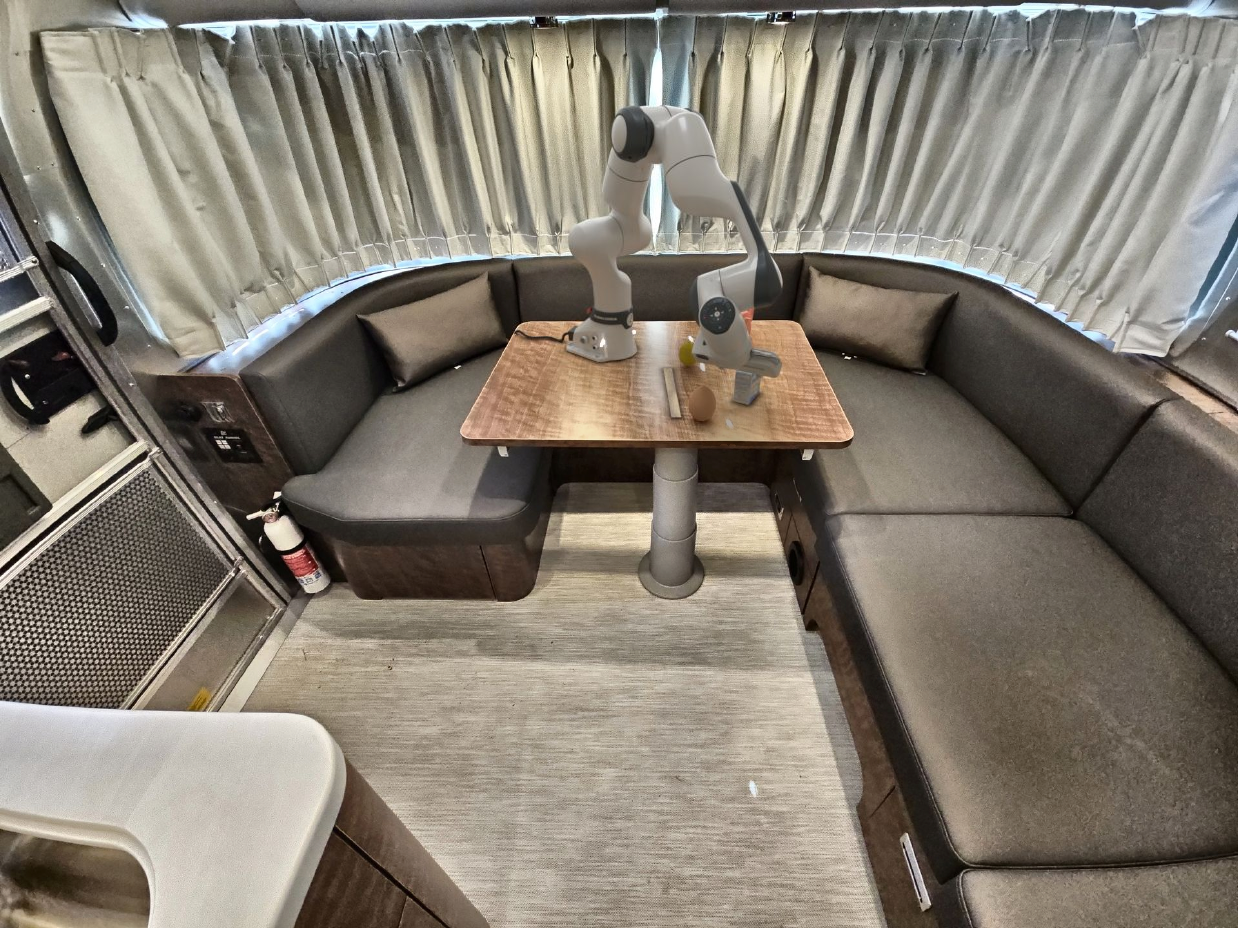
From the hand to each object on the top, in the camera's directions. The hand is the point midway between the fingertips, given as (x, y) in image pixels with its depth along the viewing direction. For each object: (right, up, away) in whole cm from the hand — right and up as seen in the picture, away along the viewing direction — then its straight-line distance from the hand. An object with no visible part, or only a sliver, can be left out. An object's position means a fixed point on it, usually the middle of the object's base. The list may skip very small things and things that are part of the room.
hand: (741, 371), depth 129 cm
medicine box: (+4, -5, +11) cm, 13 cm away
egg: (-10, -12, +2) cm, 15 cm away
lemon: (-10, +6, +27) cm, 29 cm away
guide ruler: (-16, -3, +14) cm, 21 cm away
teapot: (+6, +17, +42) cm, 45 cm away
